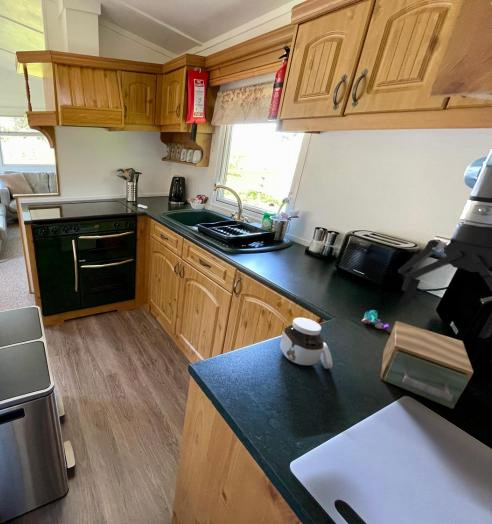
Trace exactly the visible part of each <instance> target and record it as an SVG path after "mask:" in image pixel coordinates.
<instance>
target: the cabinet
mask: <svg viewBox="0 0 492 524" xmlns="http://www.w3.org/2000/svg"><path fill="white" fill-rule="evenodd" d="M388 337H389V338H388V340H387V342H386V345H385V346H384V349H383V352H382V362H381V370H380V380H382V381H384V380H385V376H386V374H387V372H388V370H389V367H390V365H391V363H392V360H393V358H394V356H395V354H396V351H398V350H401V351H403V352H406V353H409V354H412V355H415V356H418V357H421V358H423V359H426V360H429V361H432V362H435V363H438V364H441V365H443V366H446V367H449V368H452V369H455V370H458V371H461V373H462V374H465V375H468V377H469V379H468V381H467V383H466V385H465V386H464V388H463V390H462V392H461V393H460V395H459V397H458V399H457V401H456V402H455V404H454V406H453V408H451V409H454V408H455V406H456V404H457V402H458V401H459V399H460V397H461V396H462V394H463V392H464V390H465V389H466V387H467V385H468V383H469V381H470V379H471V378H472V376H473V374H474V369H473V366H472V364H471V361H470V359H469V356H468V353H467V350H466V347H465V344H464V341H463V340H460V339H456V338H453V337H450V336H447V335H443V334H440V333H437V332H434V331H430V330H427V329H424V328H422V327H421V328H420V327H417V326H414V325H410V324H407V323H405V322H401V321H399V320H397V321H395V323H394V325H393V327H392V330H391V333H390V334H389V336H388Z"/></svg>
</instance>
